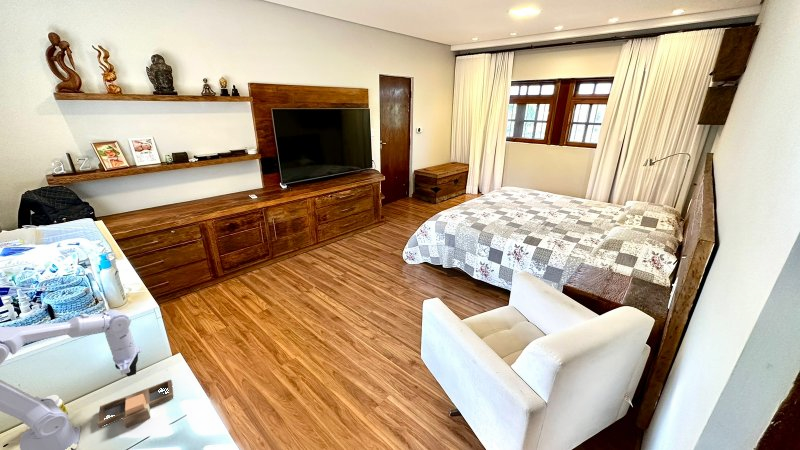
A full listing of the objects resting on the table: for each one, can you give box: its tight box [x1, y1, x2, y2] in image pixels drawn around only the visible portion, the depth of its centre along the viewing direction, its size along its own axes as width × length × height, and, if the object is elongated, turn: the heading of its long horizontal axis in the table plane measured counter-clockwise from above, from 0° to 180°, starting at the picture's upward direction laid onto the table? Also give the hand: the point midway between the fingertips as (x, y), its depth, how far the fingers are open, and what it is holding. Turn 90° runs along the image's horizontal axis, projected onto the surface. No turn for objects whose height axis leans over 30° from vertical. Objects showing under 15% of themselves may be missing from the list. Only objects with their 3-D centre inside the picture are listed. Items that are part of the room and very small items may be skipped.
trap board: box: [97, 379, 174, 428], centre depth 102 cm, size 19×11×4 cm, turn 127°
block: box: [125, 394, 146, 416], centre depth 100 cm, size 4×4×4 cm
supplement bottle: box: [43, 394, 69, 416], centre depth 96 cm, size 5×5×8 cm
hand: (132, 373), depth 104 cm, fingers closed
